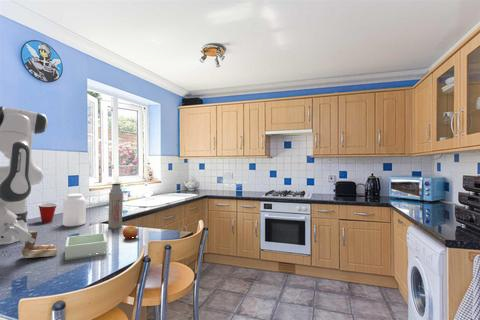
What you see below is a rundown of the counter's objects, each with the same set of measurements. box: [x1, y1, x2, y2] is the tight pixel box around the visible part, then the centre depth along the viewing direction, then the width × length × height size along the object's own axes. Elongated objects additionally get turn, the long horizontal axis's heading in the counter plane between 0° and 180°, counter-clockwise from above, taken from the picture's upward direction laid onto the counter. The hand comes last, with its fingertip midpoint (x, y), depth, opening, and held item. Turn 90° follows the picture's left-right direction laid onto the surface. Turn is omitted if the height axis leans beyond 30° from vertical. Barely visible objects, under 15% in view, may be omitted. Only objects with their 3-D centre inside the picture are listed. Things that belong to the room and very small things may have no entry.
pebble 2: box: [47, 244, 56, 249], centre depth 119 cm, size 3×3×3 cm
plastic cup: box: [37, 202, 58, 223], centre depth 178 cm, size 11×11×12 cm
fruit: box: [122, 225, 139, 241], centre depth 145 cm, size 8×8×8 cm
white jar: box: [62, 193, 87, 227], centre depth 172 cm, size 12×12×20 cm
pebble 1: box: [38, 244, 47, 250], centre depth 117 cm, size 3×3×3 cm
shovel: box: [20, 230, 58, 259], centre depth 116 cm, size 11×8×10 cm
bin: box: [64, 232, 108, 261], centre depth 123 cm, size 16×16×6 cm
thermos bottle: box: [107, 183, 124, 229], centre depth 168 cm, size 8×8×28 cm
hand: (32, 240), depth 114 cm, fingers closed on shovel, 3 cm apart
